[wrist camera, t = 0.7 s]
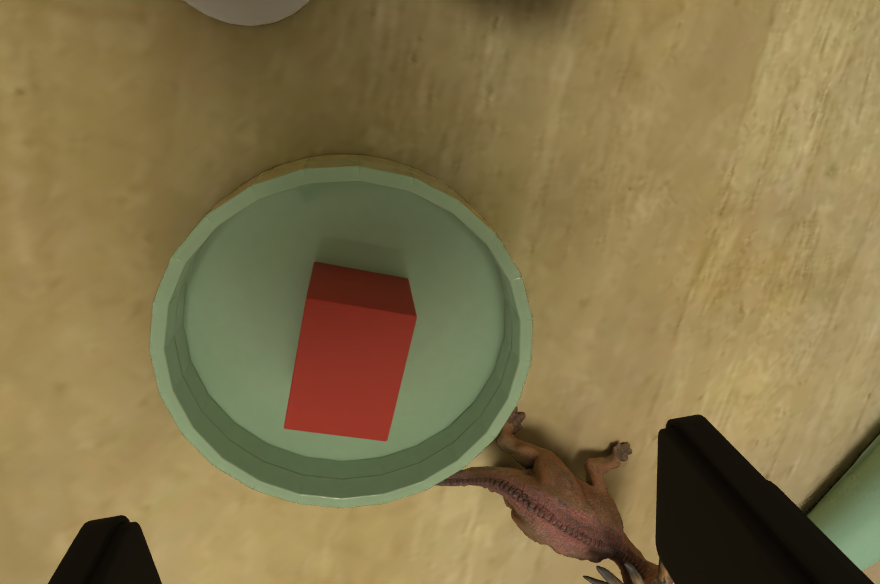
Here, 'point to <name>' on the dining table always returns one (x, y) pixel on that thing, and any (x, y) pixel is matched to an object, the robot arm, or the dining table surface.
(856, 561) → the mint green cone
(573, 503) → the dinosaur figurine
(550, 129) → the dining table surface
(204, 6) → the wineglass
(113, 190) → the dining table surface
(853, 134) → the dining table surface
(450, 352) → the bowl
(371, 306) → the block
